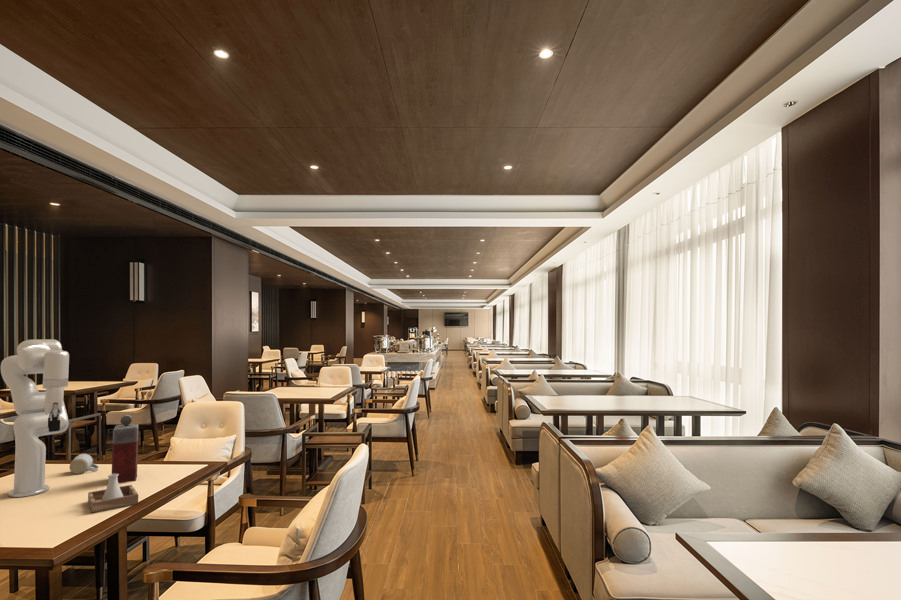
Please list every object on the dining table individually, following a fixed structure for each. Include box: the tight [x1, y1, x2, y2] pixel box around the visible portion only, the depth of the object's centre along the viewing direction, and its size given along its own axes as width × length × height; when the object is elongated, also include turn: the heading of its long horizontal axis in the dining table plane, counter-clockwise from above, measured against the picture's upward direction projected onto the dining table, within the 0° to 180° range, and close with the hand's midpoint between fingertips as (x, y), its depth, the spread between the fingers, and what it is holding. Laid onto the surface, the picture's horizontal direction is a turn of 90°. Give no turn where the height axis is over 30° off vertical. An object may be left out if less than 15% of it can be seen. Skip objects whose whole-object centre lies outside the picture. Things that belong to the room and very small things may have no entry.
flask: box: [101, 473, 124, 501], centre depth 187 cm, size 7×7×10 cm
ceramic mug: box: [69, 453, 99, 475], centre depth 229 cm, size 11×8×8 cm
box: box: [87, 484, 139, 514], centre depth 186 cm, size 16×14×4 cm
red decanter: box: [111, 414, 139, 484], centre depth 217 cm, size 9×11×28 cm
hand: (53, 429), depth 185 cm, fingers open, 9 cm apart
